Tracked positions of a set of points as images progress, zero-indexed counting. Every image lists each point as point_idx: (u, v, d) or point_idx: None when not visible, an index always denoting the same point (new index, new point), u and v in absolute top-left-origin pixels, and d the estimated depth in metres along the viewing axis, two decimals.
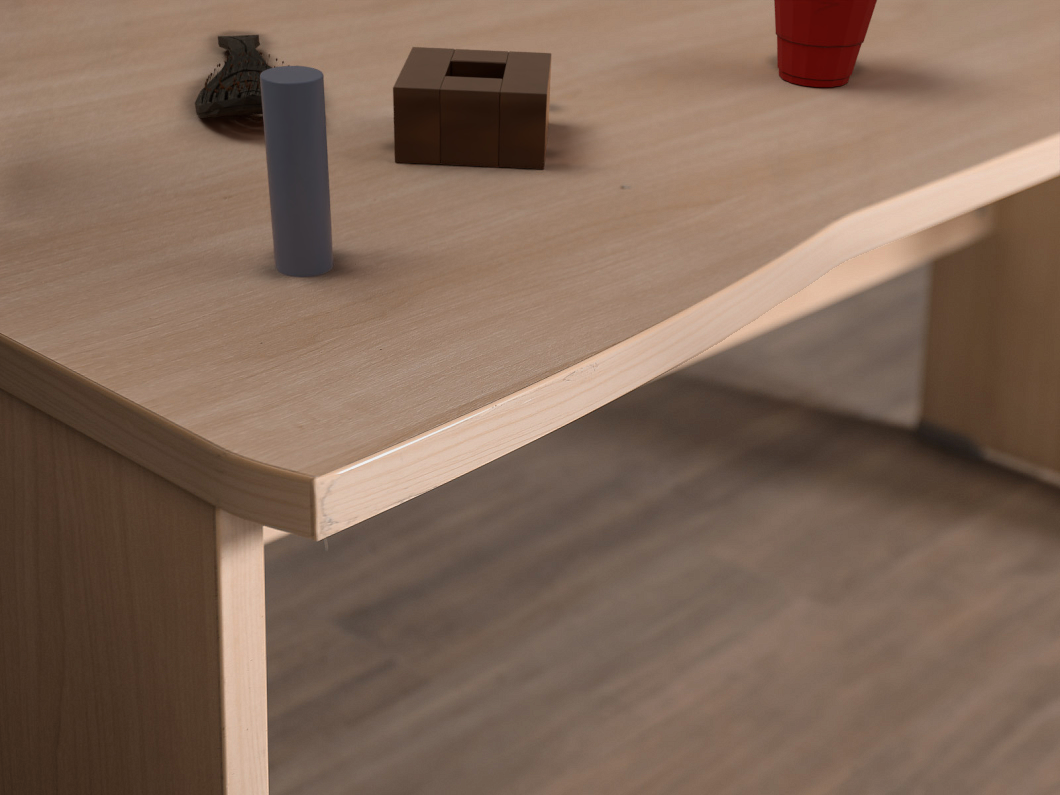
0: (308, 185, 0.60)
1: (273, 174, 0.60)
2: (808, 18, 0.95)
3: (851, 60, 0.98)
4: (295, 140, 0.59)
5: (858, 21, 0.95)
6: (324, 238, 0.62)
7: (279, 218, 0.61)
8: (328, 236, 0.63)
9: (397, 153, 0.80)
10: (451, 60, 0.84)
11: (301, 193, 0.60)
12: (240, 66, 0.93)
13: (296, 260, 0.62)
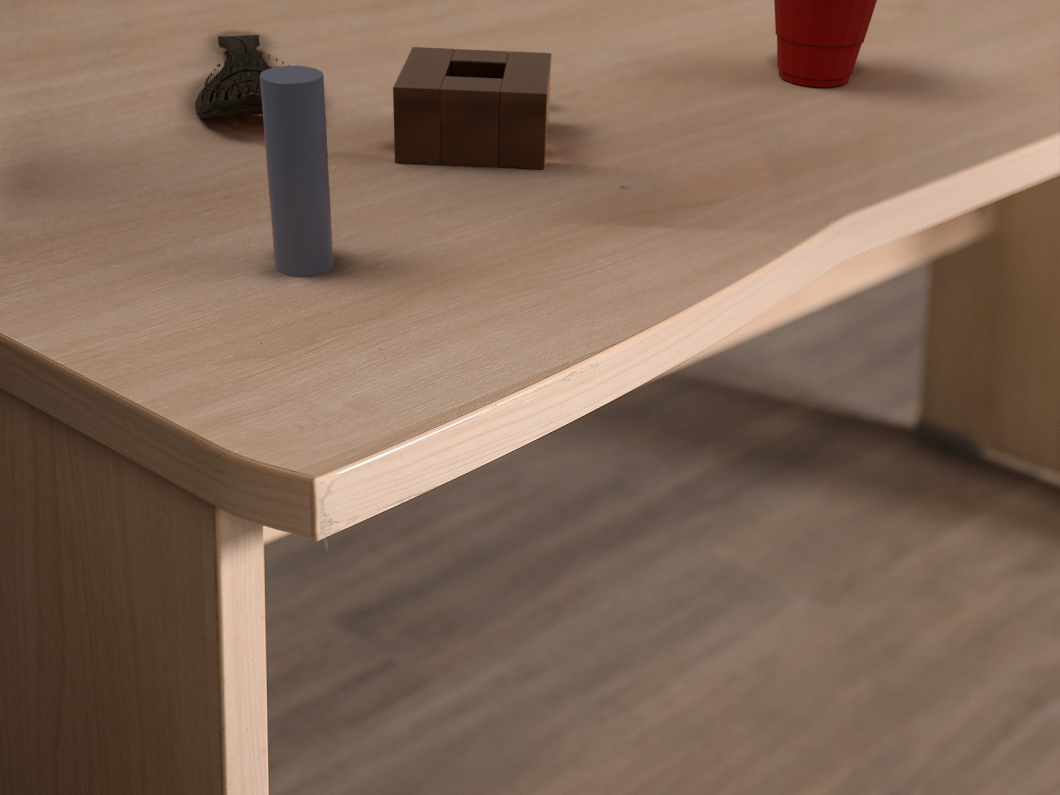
0: (308, 185, 0.60)
1: (273, 174, 0.60)
2: (808, 18, 0.95)
3: (851, 60, 0.98)
4: (295, 140, 0.59)
5: (858, 21, 0.95)
6: (324, 238, 0.62)
7: (279, 218, 0.61)
8: (328, 236, 0.63)
9: (397, 153, 0.80)
10: (451, 60, 0.84)
11: (301, 193, 0.60)
12: (240, 66, 0.93)
13: (296, 260, 0.62)
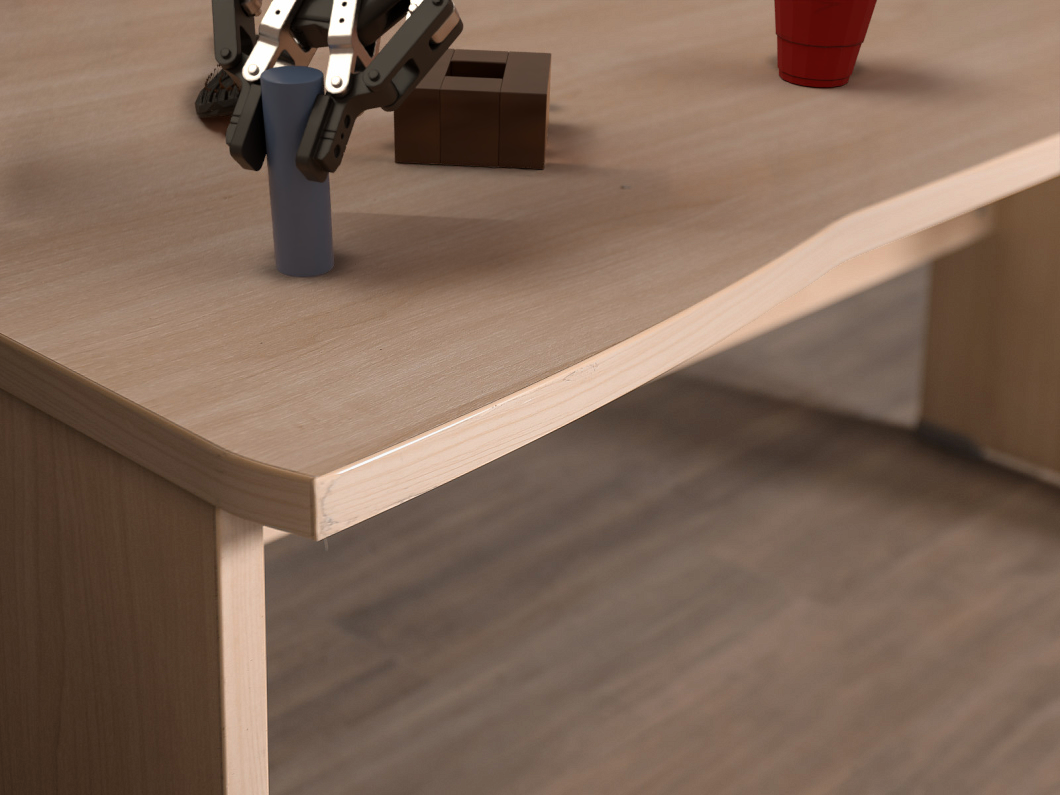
0: (308, 185, 0.60)
1: (273, 174, 0.60)
2: (808, 18, 0.95)
3: (851, 60, 0.98)
4: (295, 140, 0.59)
5: (858, 21, 0.95)
6: (324, 238, 0.62)
7: (280, 218, 0.61)
8: (329, 236, 0.63)
9: (397, 153, 0.80)
10: (451, 60, 0.84)
11: (301, 193, 0.60)
12: None
13: (296, 260, 0.62)
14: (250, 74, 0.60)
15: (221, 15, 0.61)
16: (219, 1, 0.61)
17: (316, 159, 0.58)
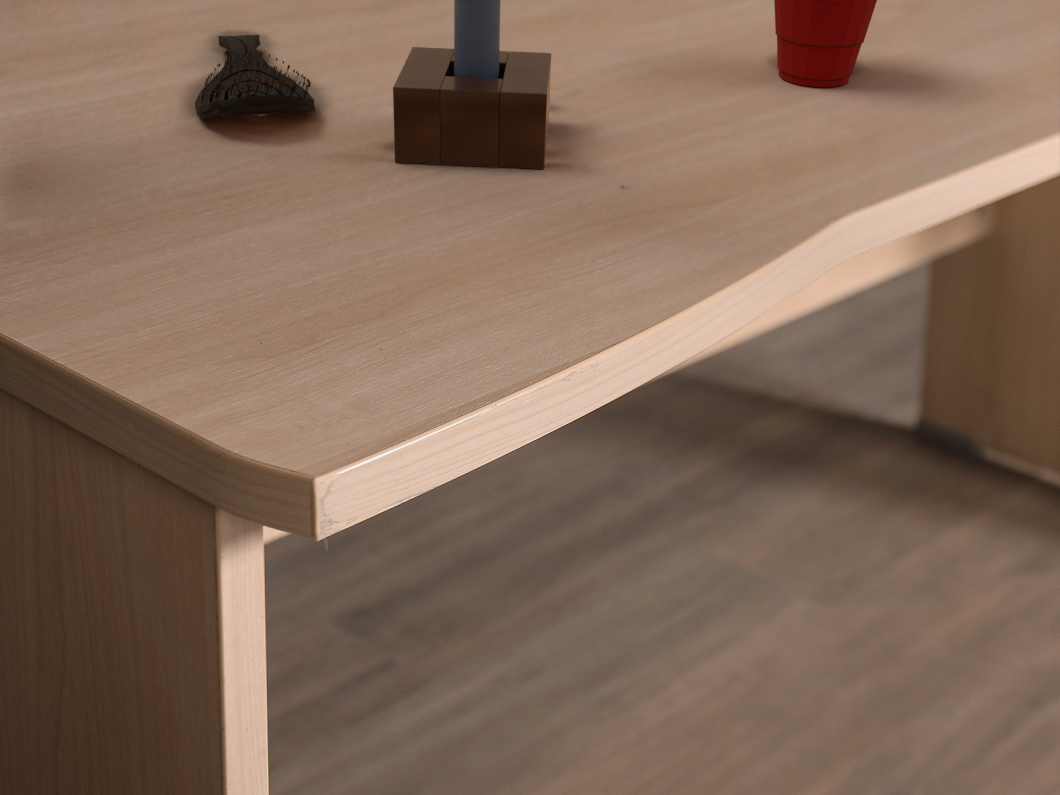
0: (486, 61, 0.80)
1: (460, 53, 0.80)
2: (808, 18, 0.95)
3: (851, 60, 0.98)
4: (480, 25, 0.79)
5: (858, 21, 0.95)
6: None
7: None
8: None
9: (397, 153, 0.80)
10: (451, 60, 0.84)
11: (481, 67, 0.81)
12: (240, 66, 0.93)
13: None
14: None
15: None
16: None
17: None
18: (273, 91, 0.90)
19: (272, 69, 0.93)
